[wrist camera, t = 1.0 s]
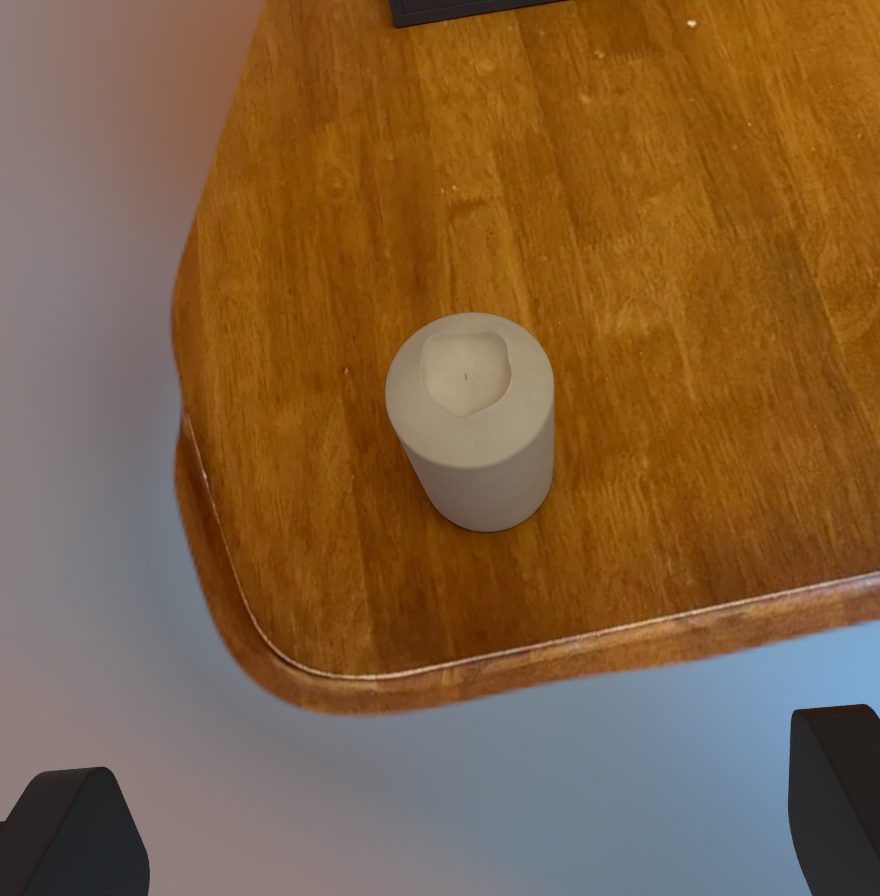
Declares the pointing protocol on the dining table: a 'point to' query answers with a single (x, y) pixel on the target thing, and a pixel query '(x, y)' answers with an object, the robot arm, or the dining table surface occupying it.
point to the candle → (476, 418)
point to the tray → (449, 9)
